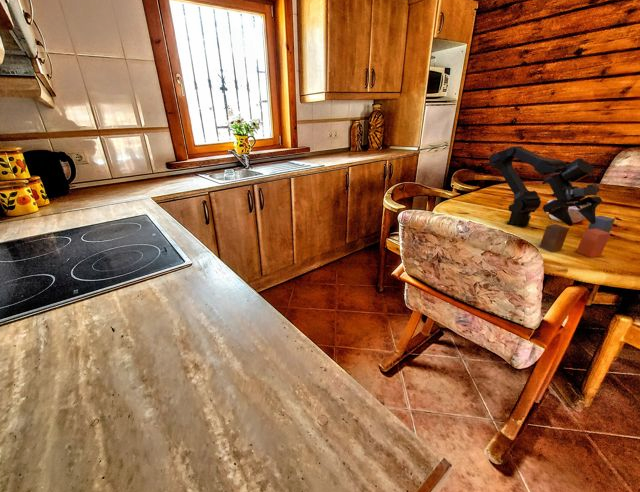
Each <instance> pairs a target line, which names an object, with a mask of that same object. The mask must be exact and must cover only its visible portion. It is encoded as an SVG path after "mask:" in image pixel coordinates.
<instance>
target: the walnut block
mask: <svg viewBox="0 0 640 492" xmlns="http://www.w3.org/2000/svg"><path fill="white" fill-rule="evenodd" d="M569 230H570V228H569V227H567V226H563V225H559V224H556V223H554V224H548V225H546V227H545V229H544V232H543V235H542V237H541V241H540V243H539V247H538V248H540V249H543V250H546V251H549V252H551V253H555V252H558V251H561V250H562V248H563V247H564V243H565V241H566V238H567V236H568V234H569Z"/></svg>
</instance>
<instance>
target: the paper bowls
mask: <svg viewBox="0 0 640 492" xmlns="http://www.w3.org/2000/svg"><path fill="white" fill-rule="evenodd" d="M553 200H557V198H554V199H549V200H548V201H547V203H549V202H551V201H553ZM574 204H575V203H574ZM578 210H580V209H578V208H577V207H576V206H572V207H569V209H568V213H569V215H570V217H571V220H572V222H573V224H576V223H579V222H581V221H582V220H587V219H586V218H585V217H584V216H583V215H582V214H581V213H580V212H579V211H578ZM548 213H549V212H546V214H548ZM548 215H549V218H550V219H552V220H554V221H556V222H560V223H564V222H563V221H561V220H559V219H558V218H556V217H554V216H553V215H551V214H548Z"/></svg>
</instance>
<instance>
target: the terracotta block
mask: <svg viewBox="0 0 640 492" xmlns="http://www.w3.org/2000/svg"><path fill="white" fill-rule="evenodd" d="M610 236H611V232H609V233H608V232H605V231H602V230H599V229H588V228H587V229H584V232H583V234H582V237H581V239H580V241H579V243H578V246H577V248H576V251H575V252H576V253H578V254H581V255H583V256H586V257H588V258H594V257H601V256H602V254H603V252H604V249H605V247H606V245H607V242H608V240H609V238H610Z"/></svg>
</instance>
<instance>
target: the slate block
mask: <svg viewBox="0 0 640 492" xmlns="http://www.w3.org/2000/svg"><path fill="white" fill-rule="evenodd" d="M595 217H596V223H595V224H591V223H590V222H589V224H588V227H587V229H599V230H602V231H605V232H608V233H611V229H612V227H613V224H615V221H616V218H612V217H609V216H604V215H595Z"/></svg>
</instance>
